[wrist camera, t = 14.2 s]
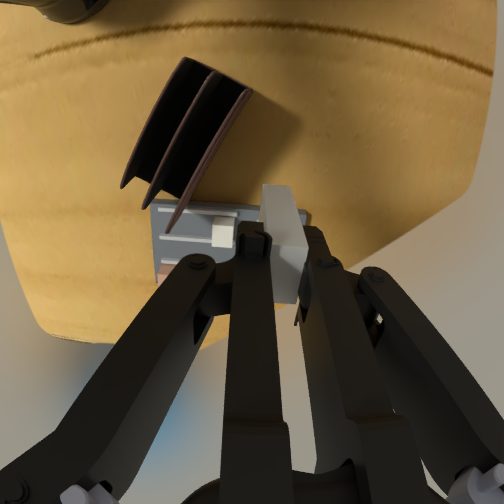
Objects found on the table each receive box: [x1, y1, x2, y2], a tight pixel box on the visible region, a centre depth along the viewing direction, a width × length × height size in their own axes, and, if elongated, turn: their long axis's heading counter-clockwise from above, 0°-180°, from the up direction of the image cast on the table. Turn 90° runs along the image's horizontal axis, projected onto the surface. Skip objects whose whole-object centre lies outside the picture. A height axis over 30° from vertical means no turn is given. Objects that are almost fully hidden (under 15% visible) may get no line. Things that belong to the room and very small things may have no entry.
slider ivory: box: [212, 216, 235, 248], centre depth 48 cm, size 3×4×3 cm
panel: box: [150, 199, 307, 283], centre depth 51 cm, size 24×15×4 cm, turn 85°
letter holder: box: [120, 57, 253, 234], centre depth 38 cm, size 10×20×14 cm, turn 149°
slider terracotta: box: [157, 263, 176, 287], centre depth 52 cm, size 3×4×3 cm
